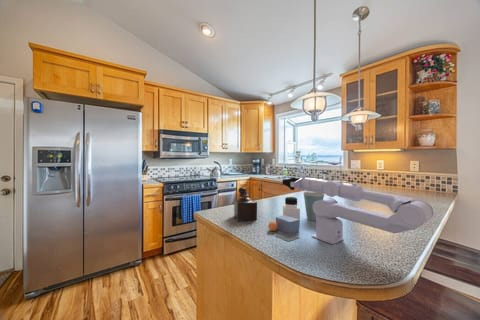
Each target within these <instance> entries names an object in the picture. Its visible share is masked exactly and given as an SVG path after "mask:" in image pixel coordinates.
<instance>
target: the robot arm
mask: <svg viewBox="0 0 480 320" xmlns="http://www.w3.org/2000/svg"><path fill="white" fill-rule="evenodd" d="M281 184H282V185H283V186H287V188H289V190H291V191H295V188H297V189H298V190H301V191H304V192H305V191H311V192H317V193H324V195H326V196H327V197H328V198H325V199H324V198H323V200H320V201H315V202H314V203H313V211H314V213H315V214H316V220H315V233H314V234H311V237H312V238H314V239H318V240H320V241H322V242H326V243H328V244H331V245H335V244H337V243H338V242H340V241H343V240H344V237H343V236H344V234H343V232H344V231H343V230H344V229H343V225H344V224H343V221H342V219H343V220H347V221H350V222H353V223H357V224H360V225H364V226H367V227H371V228H373V229H378V230H381V231H383V232H388V233H391V234H400V233H403V232H404V233H405V232H408V231H415V230H417V229H418V228H420V227H421V226H423V225H424V224H425V223H427V222H428V221H429V220H431V219H432V218H434V214H435V211H434V208H433V206H432V205H431V204H430V203H428V202H427V201H425V200H421V199H414V197H413V198H412V197H409V196H404V195H400V194H395V193H394V194H392V193H386V192H380V191H373V190H368V189H367V190H366V189H364V187H363V186H361V185H359V184H358V183H357V182H352V183H349V182H344V181H343V180H338V179H334V180H328V179H327V180H326V179H320V178H314V177H313V178H312V177H309V176H307V174H301V177H295V176H294V177H290V178H286V179H284V178H283V179H282V183H281ZM335 196H337V197H338V198H342V199H347V200H351V201H354V202H359V201H362V200H366V201H369V202H372V203H377V204H380V205H384V206H386V207H388V208H389V210H390V211H391V212H392V213H393V214H392V215H390V214H389V215H388V214H384V213H380V212H376V211H373V210H367V209H362V208H358V207H355V206H350V205H346V204H343V202H340V201H338V200H337V199H335V198H333V197H335ZM339 218H340V219H339Z"/></svg>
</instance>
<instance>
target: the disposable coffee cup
mask: <svg viewBox="0 0 480 320" xmlns="http://www.w3.org/2000/svg"><path fill="white" fill-rule="evenodd" d="M324 197H325V194H324V193H317V192H311V191H306V190H304V192H303V199H304V205H305V207H304V208H305V213H306V219H308V220H310V221H316V214H315V213H314V211H313V203H314V202H315V201H320V200H324Z"/></svg>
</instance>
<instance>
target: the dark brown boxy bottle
mask: <svg viewBox="0 0 480 320" xmlns="http://www.w3.org/2000/svg"><path fill="white" fill-rule="evenodd" d="M247 189H248V188H247V187H244V186H241V187H239V188H238V190H237V191H238V193H239V197H238V198H237V199H235V198H234V199H233V200H234V201H233V205H234V207H233V209H234V210H233V211H234V214H233V217H234V218H235V220H236V221H237V222H248V221H251V222H252V221H257V220H258V218H257V217H258V202H257V201H255V200H254V199H253V198H250V197H249V195H250V194H249V193H248V191H247Z"/></svg>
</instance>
